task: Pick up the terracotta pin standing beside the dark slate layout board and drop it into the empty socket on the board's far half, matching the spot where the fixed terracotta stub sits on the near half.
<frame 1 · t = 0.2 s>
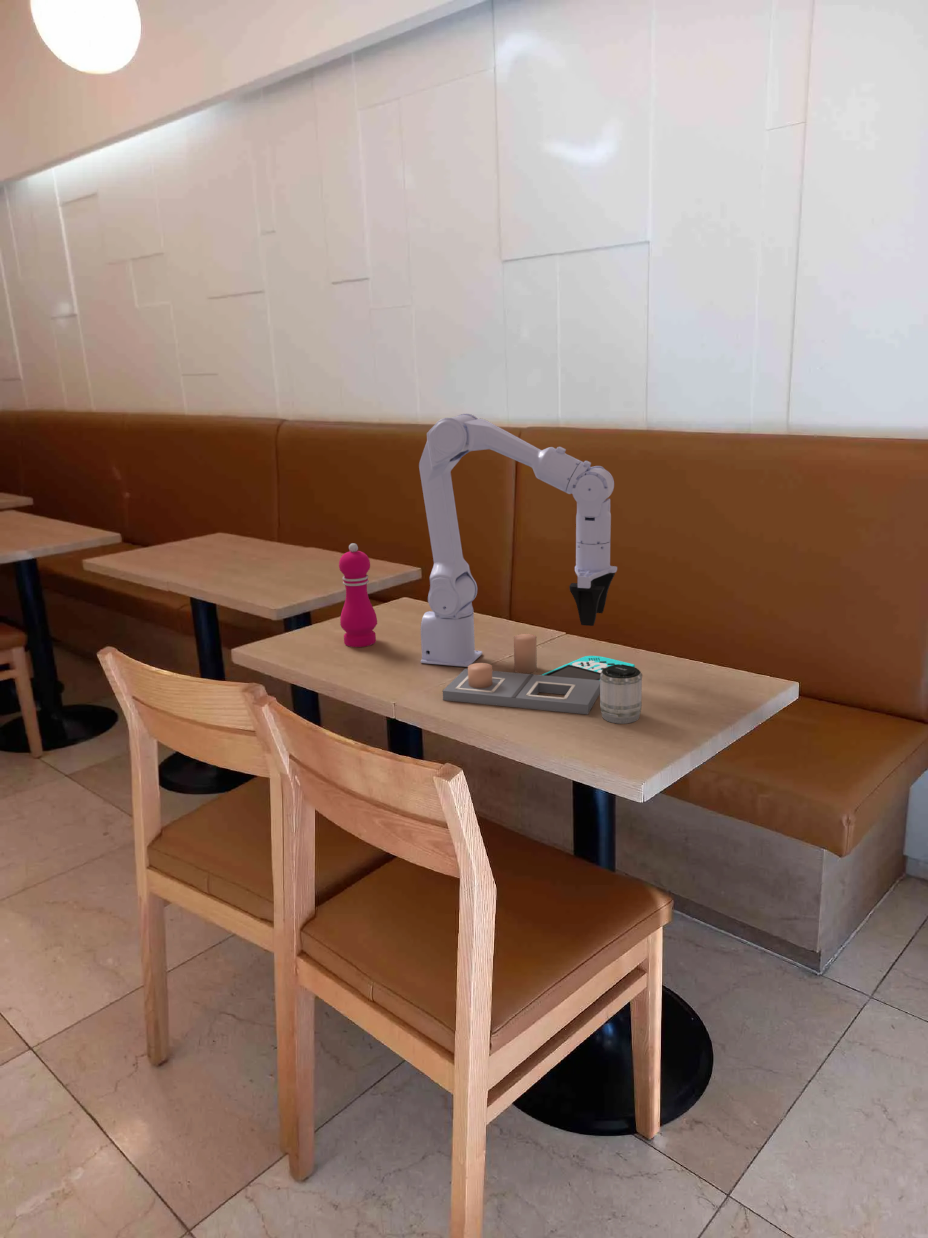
hand: (592, 618, 156), 10 cm above the table, fingers open, 7 cm apart
pepper mill: (360, 643, 179), on the table
camera lens: (620, 718, 139), on the table
terracotta pin: (525, 669, 161), on the table
layout board: (522, 694, 149), on the table
handheld game console: (586, 678, 157), on the table
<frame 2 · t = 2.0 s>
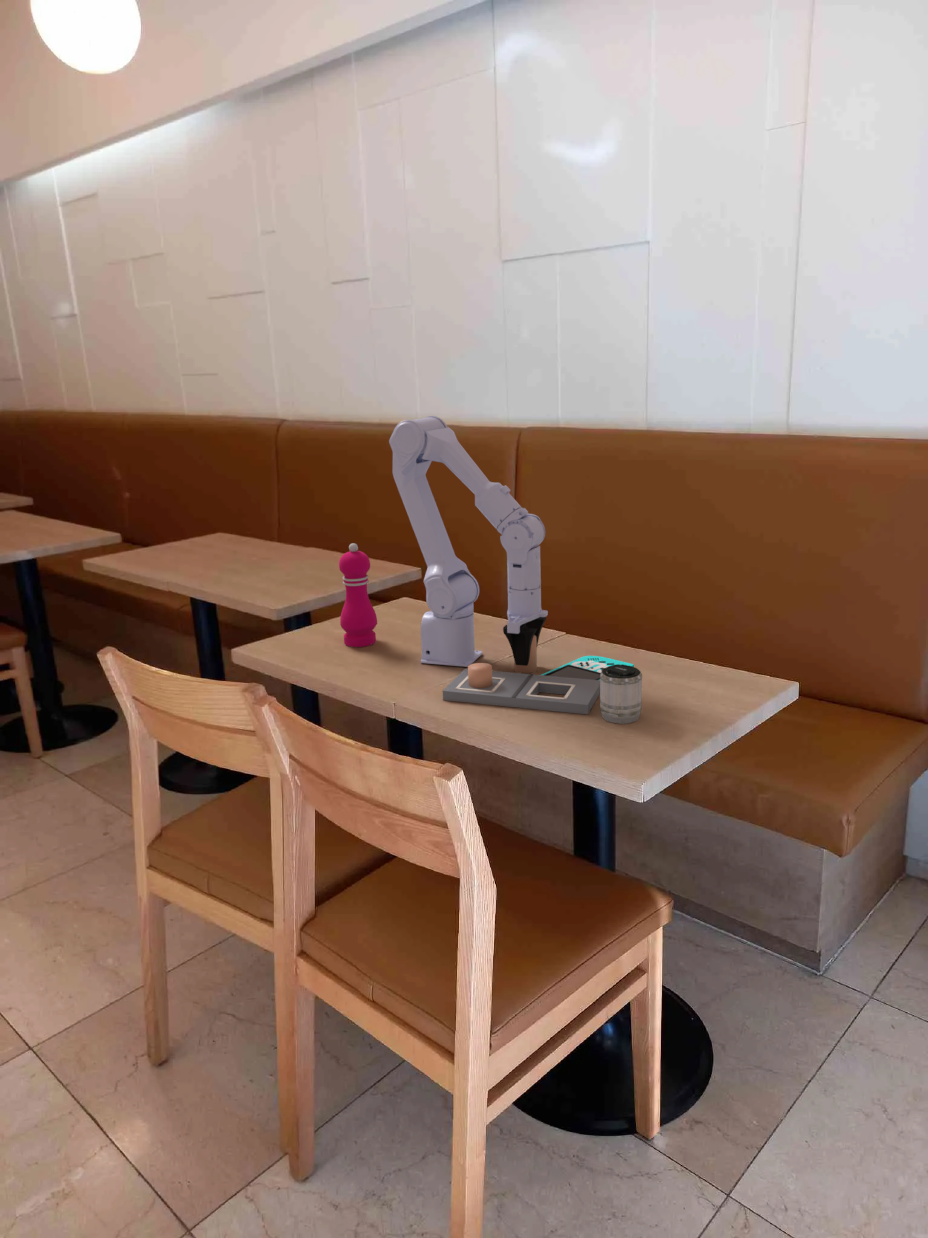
hand: (525, 660, 160), 2 cm above the table, fingers closed on terracotta pin, 4 cm apart
terracotta pin: (525, 669, 161), on the table, touching gripper
everything else where it was.
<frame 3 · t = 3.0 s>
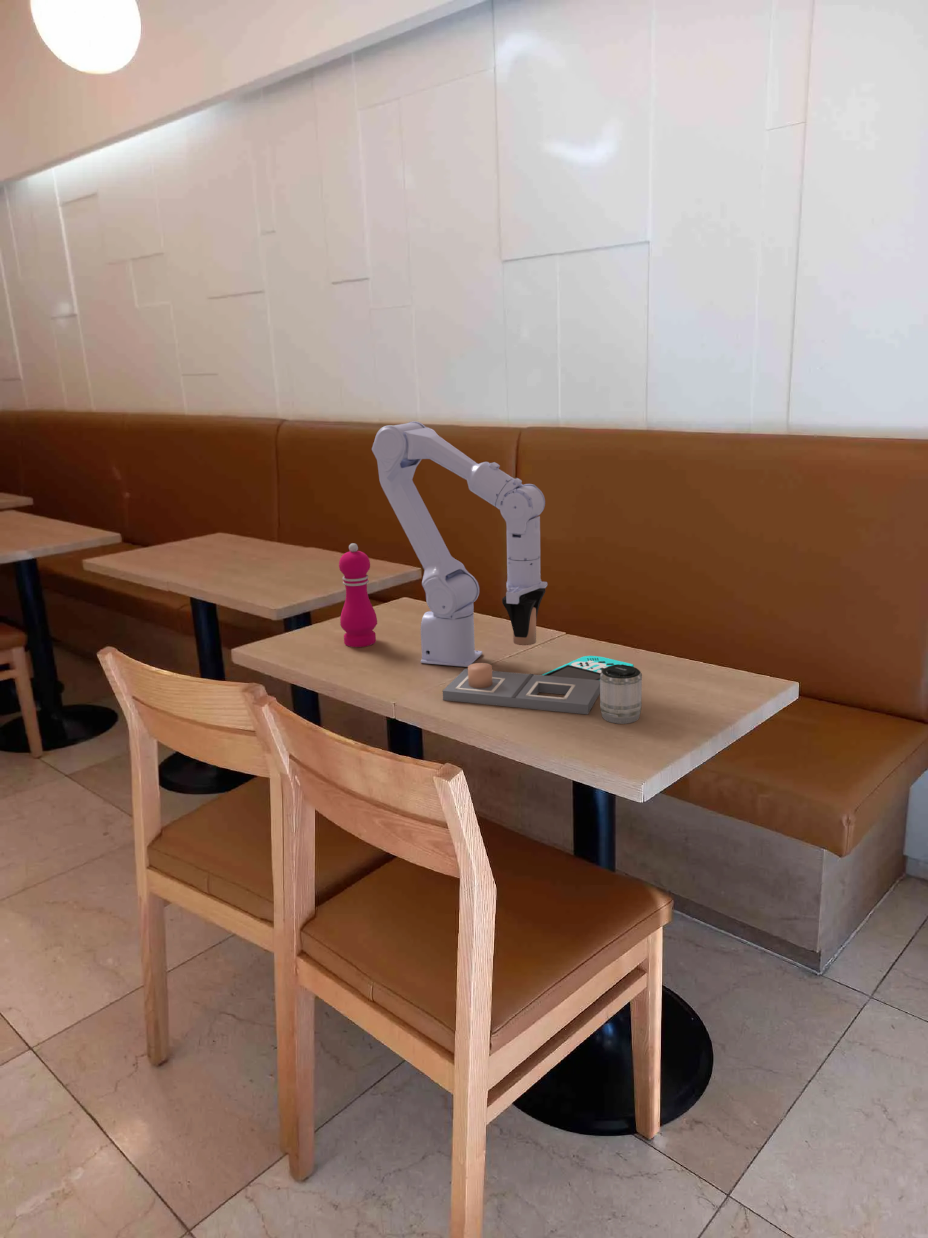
hand: (524, 632, 159), 7 cm above the table, fingers closed on terracotta pin, 4 cm apart
terracotta pin: (524, 641, 159), point 5 cm above the table, touching gripper
everything else where it was.
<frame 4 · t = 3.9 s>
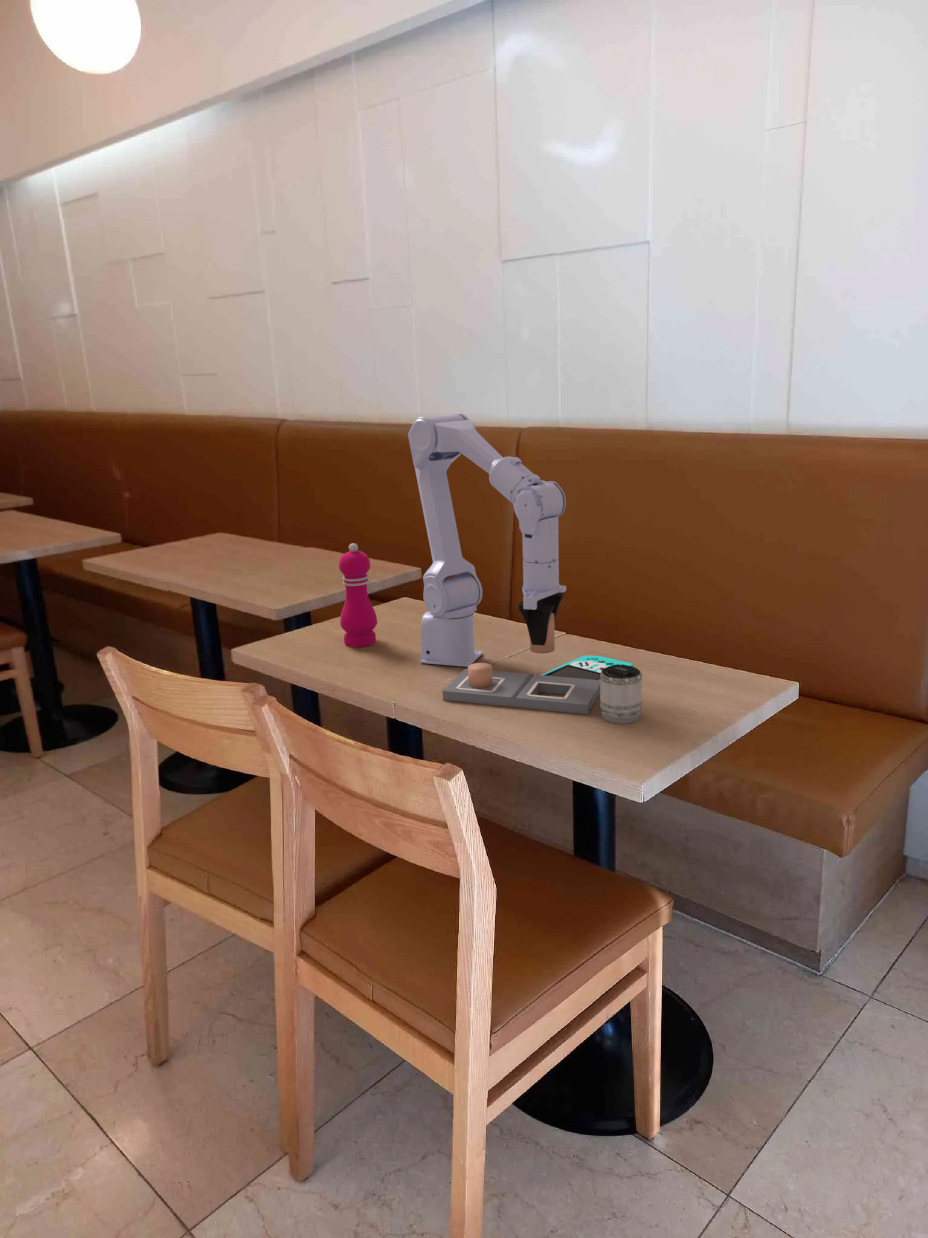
hand: (542, 640, 149), 9 cm above the table, fingers closed on terracotta pin, 4 cm apart
terracotta pin: (542, 649, 149), point 7 cm above the table, touching gripper
everything else where it was.
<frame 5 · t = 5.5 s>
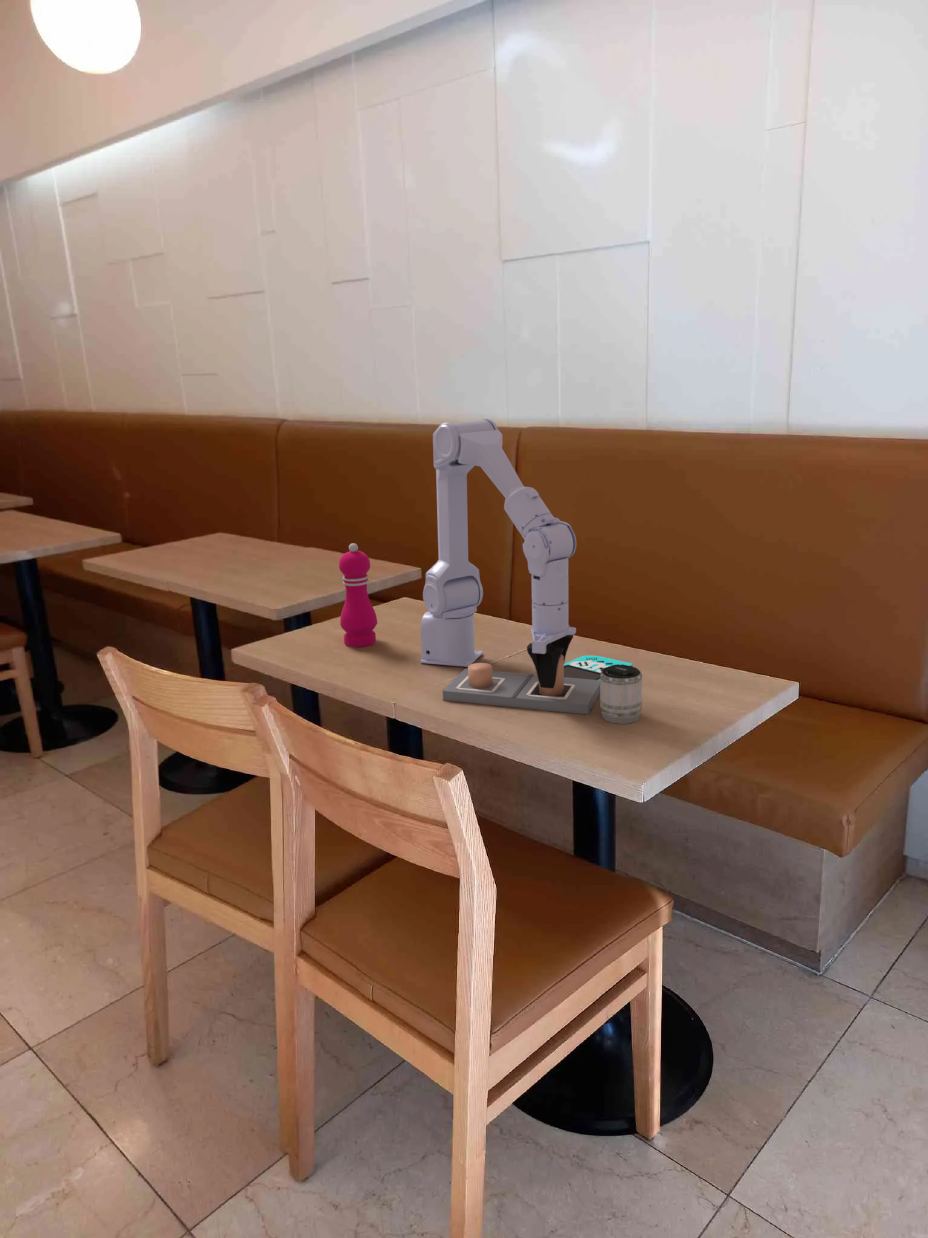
hand: (550, 682, 145), 3 cm above the table, fingers closed on terracotta pin, 4 cm apart
terracotta pin: (551, 691, 146), point 1 cm above the table, touching gripper
everything else where it was.
when the fingers open (2 cm above the table, at t = 6.1 s): terracotta pin stays where it is, resting in layout board.
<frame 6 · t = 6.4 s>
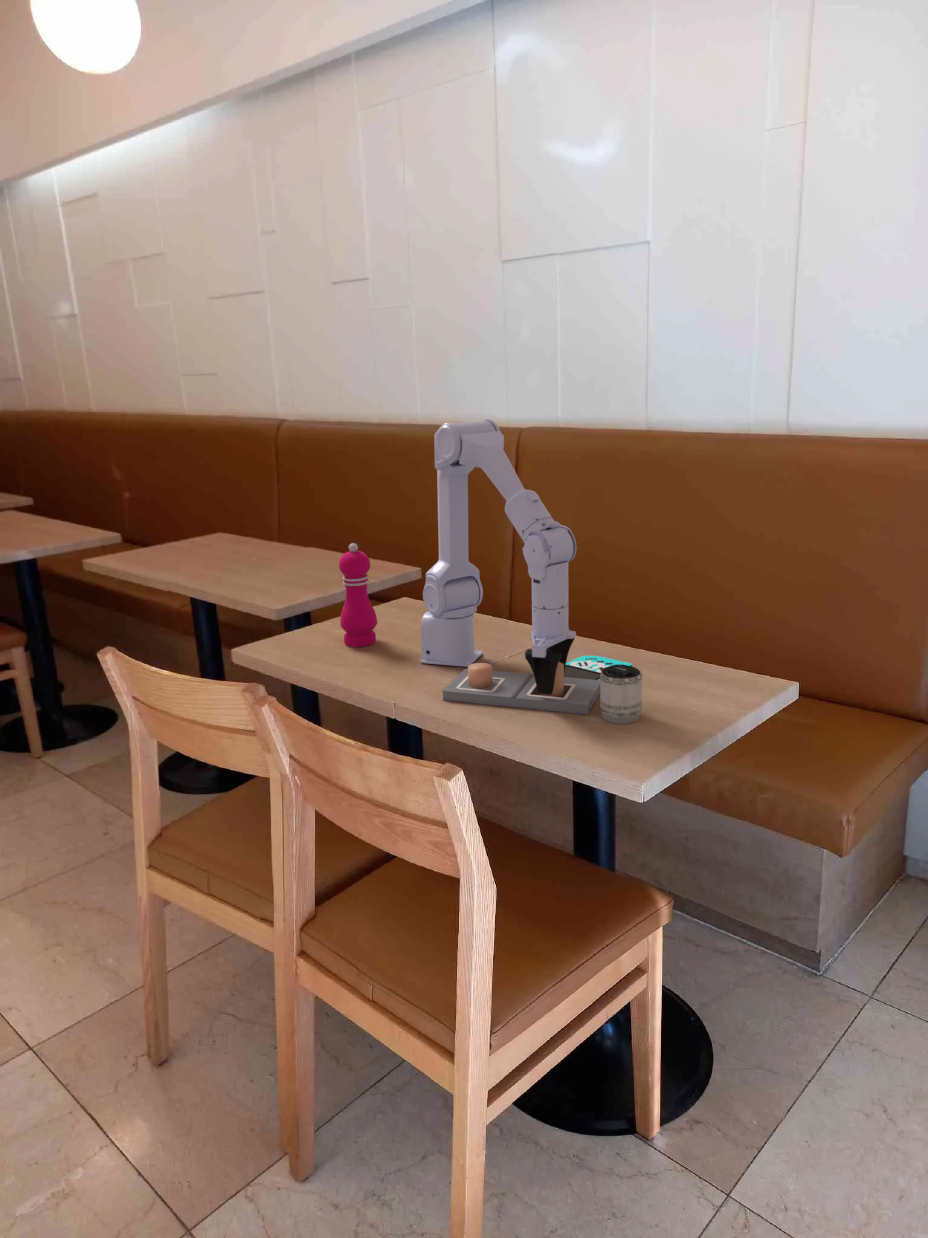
hand: (550, 685, 146), 2 cm above the table, fingers open, 6 cm apart
terracotta pin: (551, 700, 146), resting in layout board
everything else where it was.
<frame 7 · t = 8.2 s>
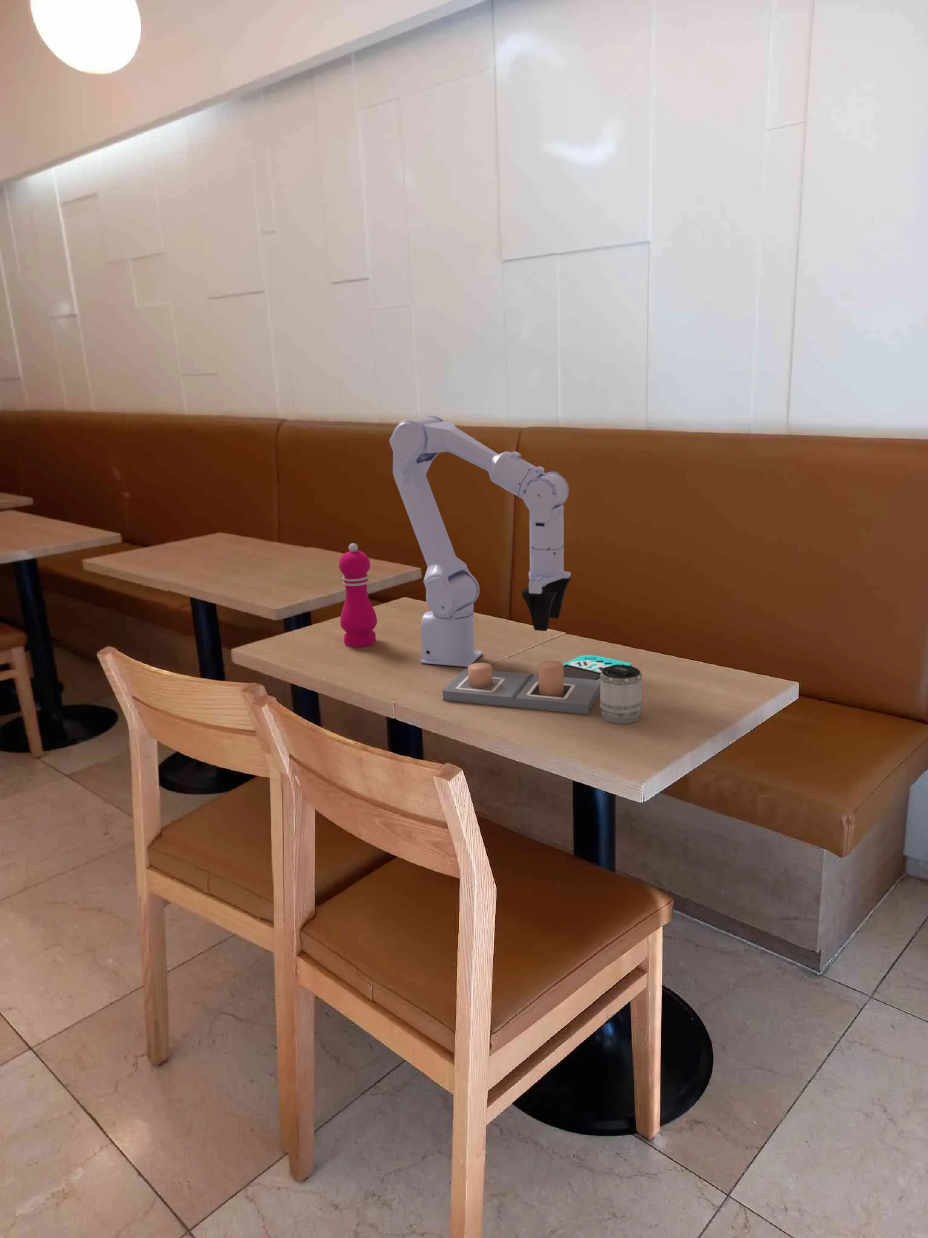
hand: (546, 623, 156), 9 cm above the table, fingers open, 7 cm apart
nothing on the table moved.
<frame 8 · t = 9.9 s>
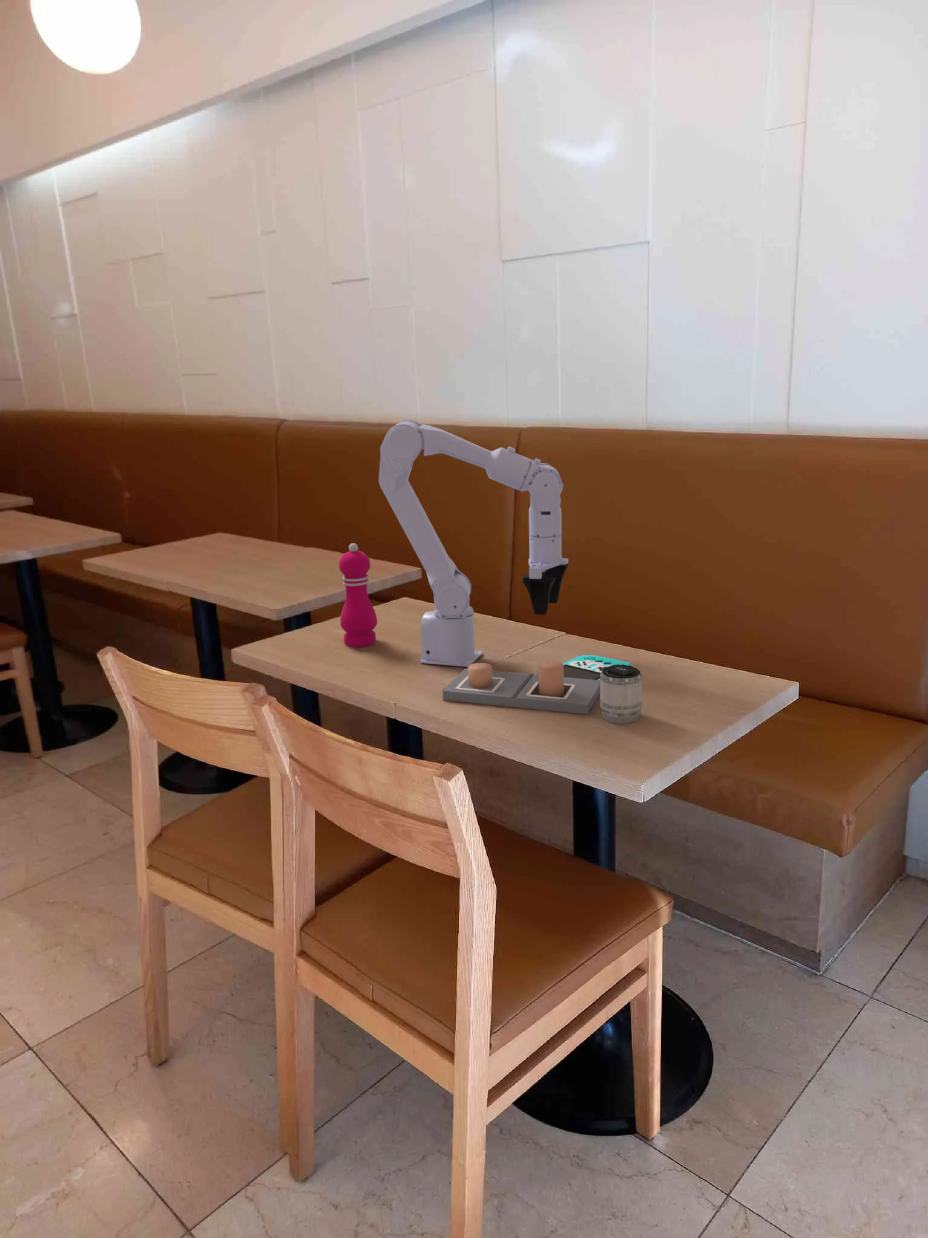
hand: (546, 608, 164), 9 cm above the table, fingers open, 7 cm apart
nothing on the table moved.
at the end: terracotta pin 0.1 cm from the target spot on the layout board, point 0.0 cm above the layout board's base; terracotta pin tilted 0°; the gripper is holding nothing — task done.
